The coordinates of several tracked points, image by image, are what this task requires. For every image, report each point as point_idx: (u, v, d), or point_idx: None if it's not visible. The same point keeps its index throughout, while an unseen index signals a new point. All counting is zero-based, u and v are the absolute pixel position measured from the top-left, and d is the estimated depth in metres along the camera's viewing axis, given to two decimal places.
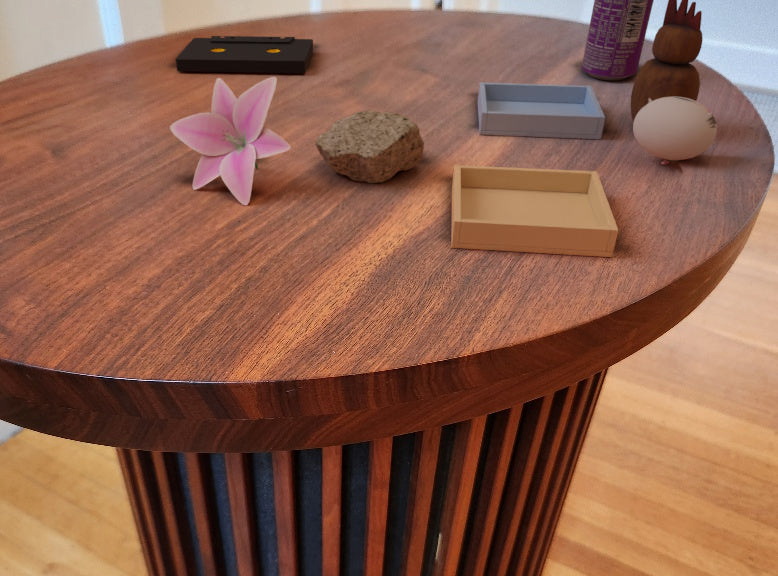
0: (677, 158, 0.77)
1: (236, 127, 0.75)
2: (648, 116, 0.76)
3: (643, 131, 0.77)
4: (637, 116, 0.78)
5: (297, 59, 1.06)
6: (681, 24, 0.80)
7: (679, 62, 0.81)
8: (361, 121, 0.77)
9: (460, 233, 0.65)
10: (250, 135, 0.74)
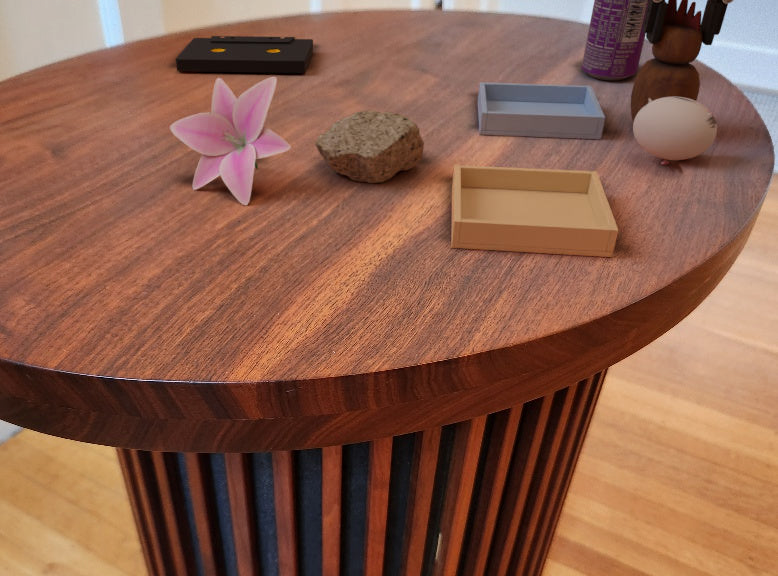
0: (677, 158, 0.77)
1: (236, 127, 0.75)
2: (648, 116, 0.76)
3: (643, 131, 0.77)
4: (637, 116, 0.78)
5: (297, 59, 1.06)
6: (681, 24, 0.80)
7: (679, 62, 0.81)
8: (361, 121, 0.77)
9: (460, 233, 0.65)
10: (250, 135, 0.74)
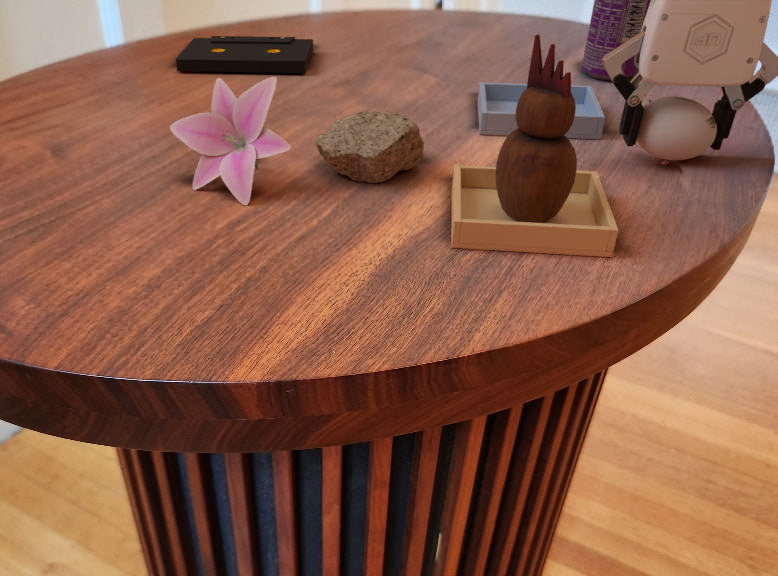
0: (677, 158, 0.77)
1: (236, 127, 0.75)
2: (647, 116, 0.76)
3: (643, 131, 0.77)
4: None
5: (297, 59, 1.06)
6: (547, 88, 0.62)
7: (546, 136, 0.63)
8: (361, 121, 0.77)
9: (460, 233, 0.65)
10: (250, 135, 0.74)
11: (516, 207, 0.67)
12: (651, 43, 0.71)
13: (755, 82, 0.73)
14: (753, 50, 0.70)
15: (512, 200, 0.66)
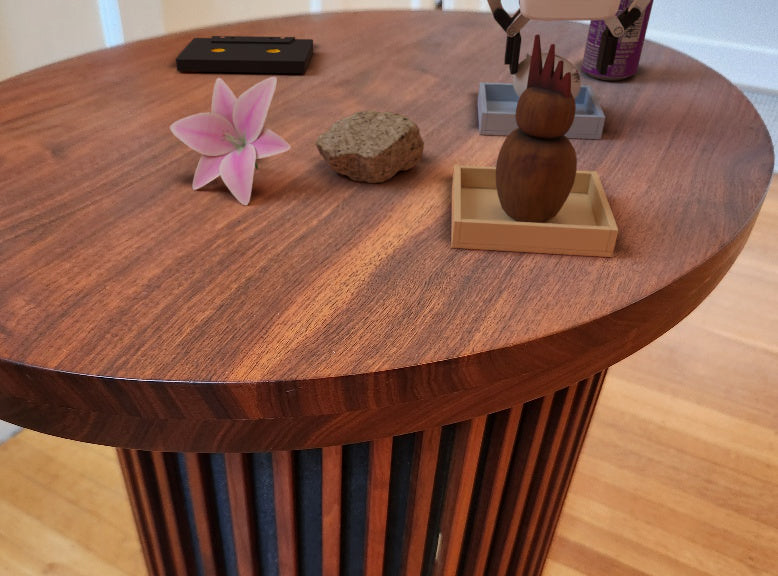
0: None
1: (236, 127, 0.75)
2: (524, 67, 0.87)
3: (519, 80, 0.87)
4: None
5: (297, 59, 1.06)
6: (547, 88, 0.62)
7: (546, 136, 0.63)
8: (361, 121, 0.77)
9: (460, 233, 0.65)
10: (250, 135, 0.74)
11: (516, 207, 0.67)
12: None
13: (632, 11, 0.82)
14: None
15: (512, 200, 0.66)
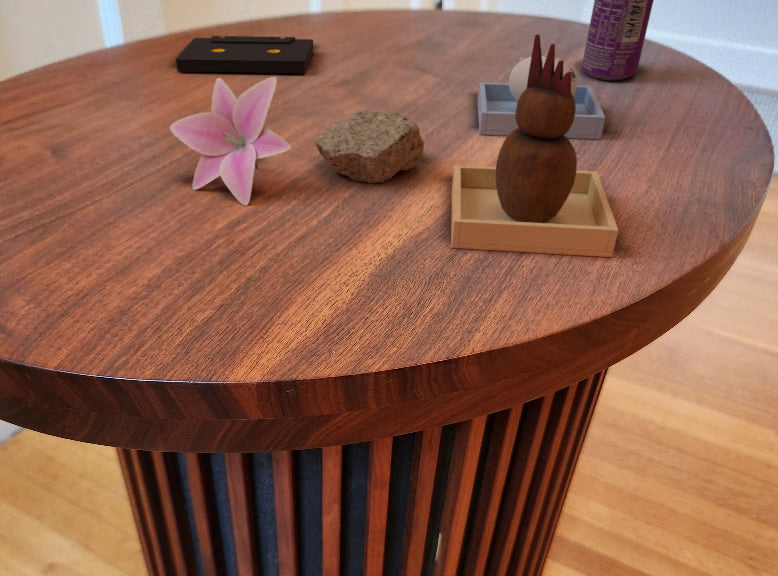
0: None
1: (236, 127, 0.75)
2: (518, 71, 0.87)
3: (515, 85, 0.88)
4: (511, 73, 0.89)
5: (297, 59, 1.06)
6: (547, 88, 0.62)
7: (546, 136, 0.63)
8: (361, 121, 0.77)
9: (460, 233, 0.65)
10: (250, 135, 0.74)
11: (516, 207, 0.67)
12: None
13: None
14: None
15: (512, 200, 0.66)
